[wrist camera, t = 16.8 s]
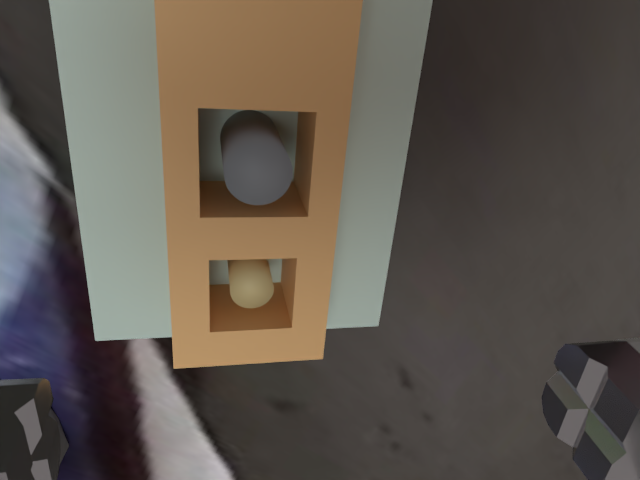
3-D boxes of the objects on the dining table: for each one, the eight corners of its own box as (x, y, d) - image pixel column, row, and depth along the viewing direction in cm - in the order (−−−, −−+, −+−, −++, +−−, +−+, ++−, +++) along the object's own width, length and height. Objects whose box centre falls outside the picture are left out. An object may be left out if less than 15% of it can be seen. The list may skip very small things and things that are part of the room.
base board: (36, -181, 17) (-26, -229, 13) (438, -125, 20) (511, -148, 16) (100, 321, 27) (78, 402, 22) (370, 309, 30) (403, 378, 25)
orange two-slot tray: (155, -139, 17) (145, -158, 14) (347, -115, 19) (377, -127, 16) (176, 317, 26) (173, 368, 22) (308, 311, 27) (322, 358, 24)
